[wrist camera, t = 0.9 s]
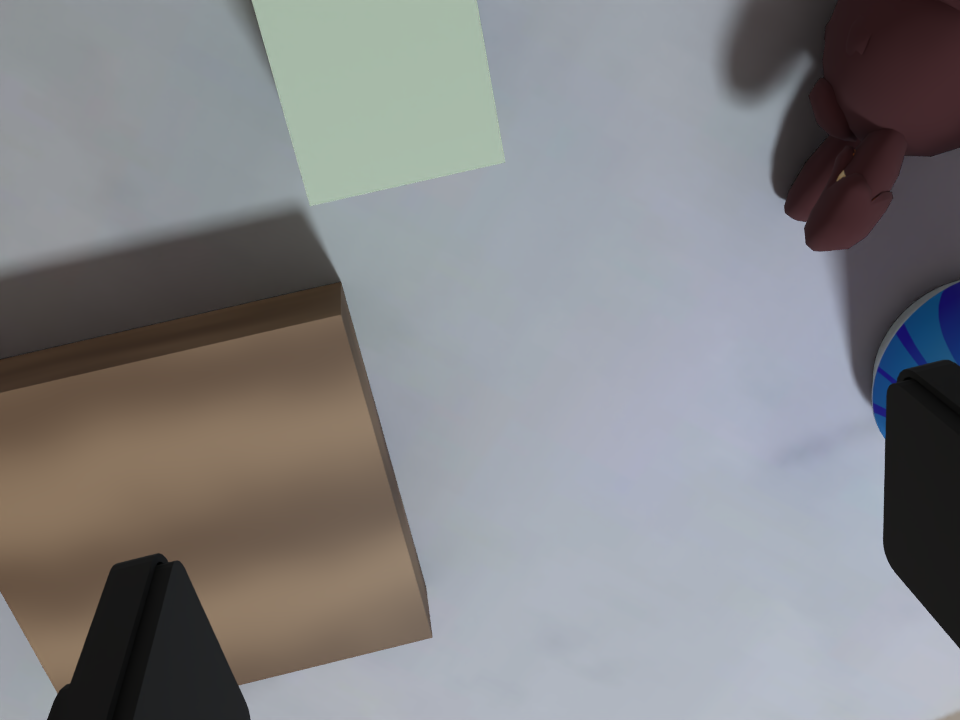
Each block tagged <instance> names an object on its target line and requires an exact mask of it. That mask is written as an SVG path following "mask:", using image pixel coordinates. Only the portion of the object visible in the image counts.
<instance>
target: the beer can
mask: <svg viewBox="0 0 960 720" xmlns="http://www.w3.org/2000/svg"><path fill="white" fill-rule="evenodd" d="M940 360H950V361H953V362H955V363H956V364H957V365H959V366H960V280H959V281H955V282H952V283H949V284H946V285H943V286H941V287H939V288H937V289H935V290H933V291H931V292H929V293H928V294H926V295H924V296H923V297H921V298H920V299H918V300H917V301H916V302H915V303H913V304H912V305H911V306H910V307H909V308H907V309H906V310H905V311H904V312H903V313H902V314H901V315H900V317H899V318H898V319H897V320H896V321H895V322H894V324H893V325H892V326H891V328H890V329H889V331H888V332H887V334H886V336H885V337H884V339H883V341H882V343H881V345H880V348H879V350H878V353H877V356H876V360H875V364H874V370H873V385H872V408H873V414H874V418H875V421H876V424H877V426H878V428H879V430H880V432H881V433H882V435H883V437H884V438H885V435H886V395H887V389H888V387H889V385H891V384H893V383H897V377H898V375H899V373H900V372H901V371H902V370H904V369H907V368H911V367H915V366H919V365H923V364H927V363H932V362H936V361H940Z"/></svg>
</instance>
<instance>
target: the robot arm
mask: <svg viewBox="0 0 960 720" xmlns="http://www.w3.org/2000/svg"><path fill="white" fill-rule="evenodd" d="M883 545H884V551H885V555H886V557H887V560H888V562H889V564H890V566H891V567H892V569H893V570H894V572H895V573H896V574H897V575H898V576H899V578H900V579H901V580H902V581H903V582H904V583H905V585H906V586H907V587H908V588H909V589H910V591H911V592H912V593H913V594H914V595H915V596H916V598H917V599H918V600H919V601H920V602H921V603H922V605H923V606H924V607H925V608H926V609H927V611H928V612H929V613H930V614H931V615H932V616H933V618H934V619H935V620H936V621H937V622H938V623H939V625H940V626H941V627H942V628H943V629H944V631H945V632H946V633H947V634H948V635H949V636H950V638H951V639H952V640H953V641H954V642H955V643H956V645H957V646H958V647H959V648H960V366H959V365H957V364H956V363H955V362H953V361H950V360H940V361H936V362H932V363H927V364H923V365H919V366H915V367H911V368H907V369H904V370H902V371H901V372H900V373H899V375H898V377H897V383H893V384H891V385H889V387H888V389H887V395H886V435H885V480H884V526H883ZM47 720H250V714H249V710H248V707H247V704H246V702H245V699H244V697H243V695H242V693H241V691H240V688H239V686H238V684H237V682H236V679H235V677H234V675H233V673H232V671H231V668H230V666H229V664H228V662H227V660H226V657H225V655H224V653H223V651H222V649H221V646H220V644H219V642H218V640H217V638H216V635H215V633H214V631H213V629H212V627H211V624H210V622H209V620H208V618H207V616H206V613H205V611H204V609H203V607H202V605H201V602H200V600H199V598H198V596H197V594H196V591H195V589H194V587H193V585H192V582H191V580H190V578H189V576H188V574H187V571H186V569H185V567H184V566H183V564H182V563H181V562H180V561H178V560H176V561H172V562H168V560H167V558H166V557H165V556H164V555H163V554H160V553H157V554H153V555H148V556H144V557H140V558H136V559H132V560H128V561H124V562H120V563H116V564H115V565H113V566H112V568H111V570H110V572H109V575H108V578H107V580H106V583H105V586H104V589H103V592H102V595H101V598H100V600H99V603H98V606H97V609H96V612H95V615H94V617H93V620H92V623H91V626H90V629H89V632H88V634H87V637H86V640H85V643H84V646H83V649H82V651H81V654H80V657H79V660H78V663H77V666H76V669H75V671H74V674H73V677H72V680H71V683H70V684H66V685H65V686H64V687H63V688H62V689H61V690H60V691H59V692H58V694H57V696H56V698H55V700H54V702H53V705H52V708H51V711H50V713H49V716H48V719H47Z"/></svg>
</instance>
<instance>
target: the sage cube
mask: <svg viewBox="0 0 960 720" xmlns="http://www.w3.org/2000/svg"><path fill="white" fill-rule="evenodd" d="M252 3H253V7H254V10H255V14H256V17H257V21H258V24H259V28H260V31H261V35H262V38H263V42H264V45H265V49H266V52H267V56H268V60H269V63H270V67H271V70H272V74H273V77H274V81H275V84H276V88H277V91H278V95H279V98H280V102H281V105H282V109H283V112H284V116H285V119H286V123H287V127H288V130H289V134H290V137H291V141H292V144H293V148H294V151H295V155H296V158H297V162H298V165H299V169H300V172H301V176H302V179H303V183H304V186H305V190H306V194H307V197H308V201H309V204H310V206H313V205H317V204H322V203H326V202H331V201H335V200H340V199H344V198H349V197H353V196H358V195H362V194H366V193H371V192H375V191H380V190H384V189H389V188H393V187H398V186H402V185H407V184H411V183H416V182H420V181H425V180H429V179H433V178H438V177H442V176H447V175H451V174H456V173H460V172H465V171H469V170H474V169H478V168H483V167H487V166H492V165H496V164H500V163H505V158H504V152H503V147H502V141H501V135H500V130H499V124H498V118H497V113H496V107H495V101H494V96H493V90H492V84H491V79H490V73H489V67H488V62H487V56H486V50H485V45H484V39H483V33H482V28H481V22H480V16H479V11H478V5H477V0H252Z"/></svg>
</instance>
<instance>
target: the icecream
mask: <svg viewBox="0 0 960 720" xmlns="http://www.w3.org/2000/svg"><path fill="white" fill-rule="evenodd" d="M824 40H825V47H824V53H823V59H822V61H823V71H824V77H823V78H820V79H819V80H818V81H817V82H816V84H815V85H814V87H813V89H812V91H811V92H810V94H809V99H810V102H811V105H812V109H813V112H814V115H815V119H816V122H817V124H818V125H819V126H820V127H821V128H823V129H824V130H825V131H826V132H827V133H828V134H829V136H828V137H827V138H826V139H825V140H824V142H823V143H822V144H821V145H820V146H819V147H818V149H817V150H816V151H815V152H814V153H813V155H812V156H811V157H810V158H809V159H808V160H807V162H806V163H805V164H804V166H803V168H802V170H801V171H800V173H799V175H798V176H797V178H796V180H795V181H794V183H793V185H792V187H791V188H790V190H789V192H788V195H787V199H786V202H785V205H784V209H785V213H786V214H787V215H788V216H790V217H791V218H793V219H795V220H797V221H803V222H806V225H805V227H804V231H805V241H806V245H807V246H808V247H810V248H811V249H812V250H813V251H832V250H843V249H849V248H850V247H852V246H853V245H855V244H856V243H858V242H859V241H861V240H862V239H864V238H865V237H866V236H867V235H868V234H869V232H870V231H871V230H872V229H873V227H874V226H875V225H876V223H877V222H878V221H879V219H880V218H881V217H882V215H883V214H884V213H885V211H886V210H887V208H888V206H889V204H890V202H891V201H892V199H893V196H892V192H890V190H891V188H892V186H893V185H894V183H895V181H896V179H897V177H898V176H899V172H900V169H901V166H902V162H903V159H904V155H906V156H930V157H931V156H934V155H937V154H941V153H944V152H947V151H950V150H954V149H957V148H960V0H838V2H837V4H836V7H835V9H834V11H833V14H832V16H831V19H830V21H829V22H828V23H827V25H826V28H825V36H824Z"/></svg>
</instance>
